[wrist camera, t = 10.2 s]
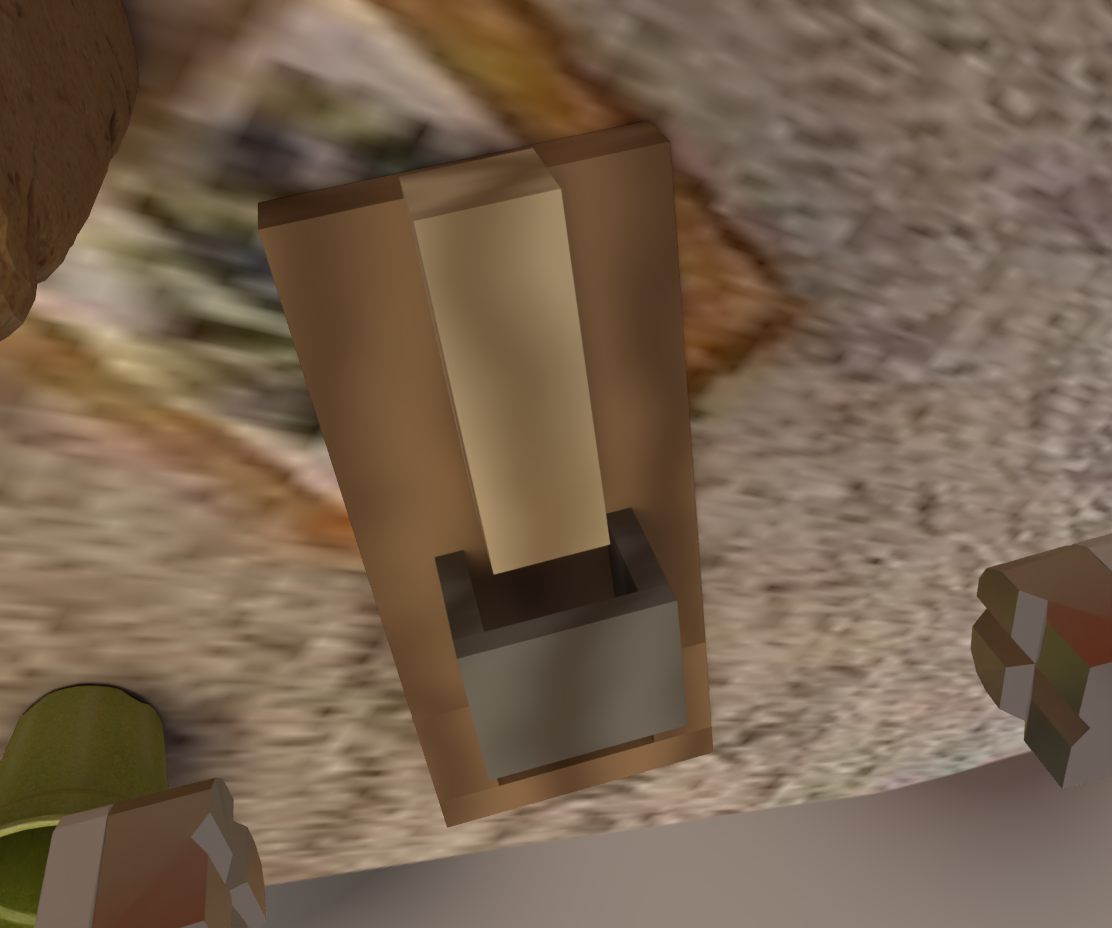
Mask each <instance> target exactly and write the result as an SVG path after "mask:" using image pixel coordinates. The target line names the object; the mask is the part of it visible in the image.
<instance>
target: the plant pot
mask: <svg viewBox="0 0 1112 928" xmlns="http://www.w3.org/2000/svg"><path fill="white" fill-rule="evenodd" d="M165 790H169V786H168V776H167V765H166V753H165V742H164V731H163V725H162V722H161V720H160V717H159V716H158V714H157V712H156V711H155V710H154V709H153V708H152V707H151V706H150V705H149V704H145V703H141V702H139V701H137V700H135V699H133V698H132V697H130V696H129V695H127V694H126V693H125V692H123V691H122V690H120V689H117V688H112V687H105V686H78V687H71V688H66V689H62V690H59V691H56V692H53V693H50V694H48V695H46V696H44V697H43V698H42V699H41V700H40V701H39V702H37V703H36V704H35V705H34V706H33V707H31V708H30V709H29V710H28V711H27V712H26V713H25V714H24V715H22V716H21V718H20V719H19V721H18V723H17V726H16V728H15V730H14V732H13V735H12V737H11V739H10V741H9V744H8V746H7V748H6V750H5V753H4V755H3V757H2V760H1V762H0V928H34V926H35V921H36V916H37V911H38V905H39V900H40V895H41V890H42V885H43V880H44V875H45V869H46V864H47V859H48V854H49V849H50V844H51V839H52V833H53V832H54V830H55V828H56V827H57V825H58V823H59V821H60V820H61V818H62V817H63V816H67V815H71V814H75V813H79V812H83V811H87V810H91V809H95V808H99V807H103V806H107V805H111V804H114V803H116V802H120V801H124V800H128V799H132V798H136V797H141V796H145V795H149V794H153V793H157V792H161V791H165Z"/></svg>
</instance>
